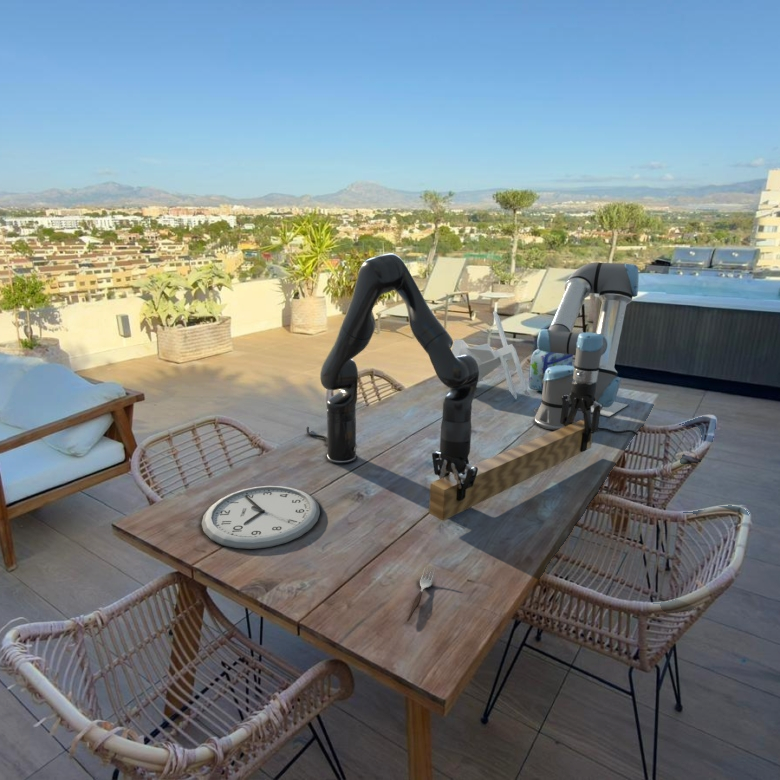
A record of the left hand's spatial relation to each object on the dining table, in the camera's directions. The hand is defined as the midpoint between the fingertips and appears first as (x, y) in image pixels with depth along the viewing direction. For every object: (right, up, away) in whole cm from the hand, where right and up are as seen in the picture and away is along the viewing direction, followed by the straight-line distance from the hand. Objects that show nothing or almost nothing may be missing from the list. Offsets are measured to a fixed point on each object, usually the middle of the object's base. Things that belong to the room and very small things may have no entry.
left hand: (452, 495), depth 135 cm
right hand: (+46, +8, +40) cm, 61 cm away
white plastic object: (+26, +26, +108) cm, 114 cm away
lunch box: (+60, +28, +116) cm, 133 cm away
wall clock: (-50, -6, +2) cm, 50 cm away
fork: (-10, -16, -27) cm, 33 cm away
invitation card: (+75, +20, +91) cm, 120 cm away
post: (+23, +2, +21) cm, 31 cm away
